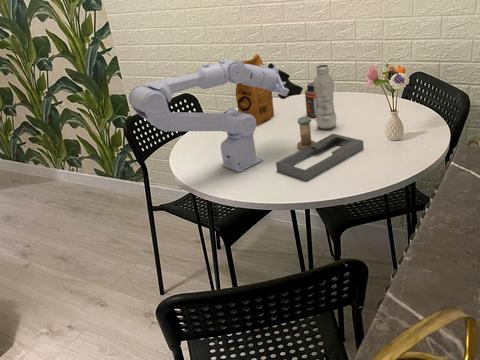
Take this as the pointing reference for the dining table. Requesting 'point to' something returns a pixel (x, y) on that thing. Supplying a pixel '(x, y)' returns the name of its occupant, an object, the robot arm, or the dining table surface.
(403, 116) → the dining table surface
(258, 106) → the coffee package
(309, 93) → the supplement bottle
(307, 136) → the peg
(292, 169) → the keyhole plate
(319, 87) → the plastic bottle
